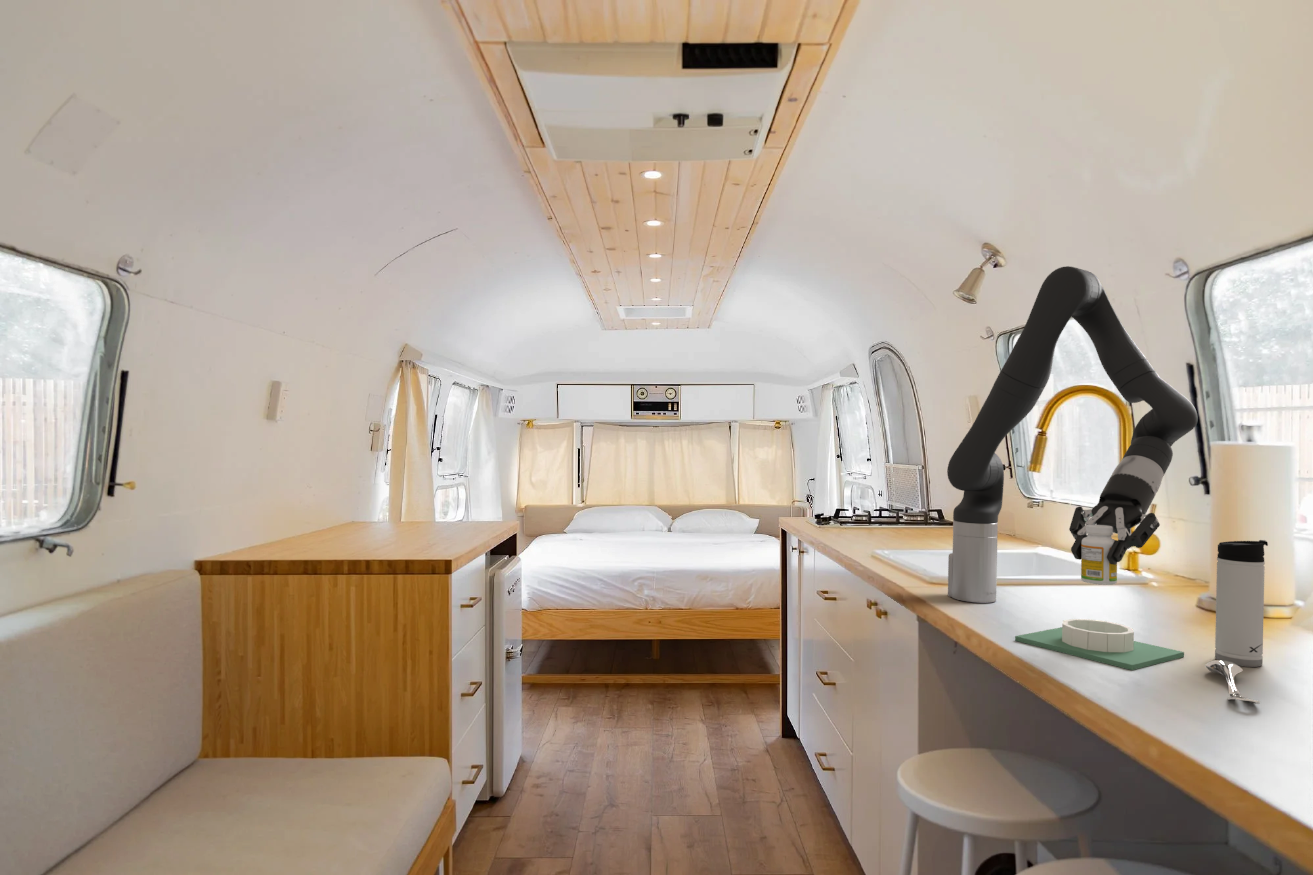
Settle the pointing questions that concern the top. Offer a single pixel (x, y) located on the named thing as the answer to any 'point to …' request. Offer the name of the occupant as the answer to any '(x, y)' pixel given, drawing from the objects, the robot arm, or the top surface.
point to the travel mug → (1240, 602)
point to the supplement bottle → (1097, 556)
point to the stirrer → (1228, 677)
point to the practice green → (1100, 643)
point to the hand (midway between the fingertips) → (1093, 558)
